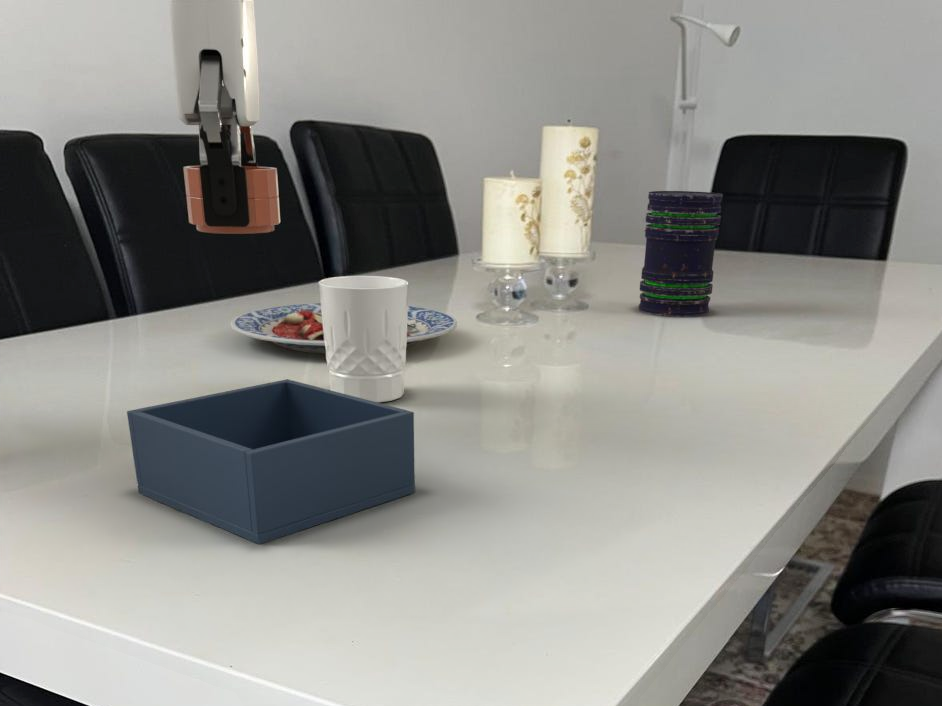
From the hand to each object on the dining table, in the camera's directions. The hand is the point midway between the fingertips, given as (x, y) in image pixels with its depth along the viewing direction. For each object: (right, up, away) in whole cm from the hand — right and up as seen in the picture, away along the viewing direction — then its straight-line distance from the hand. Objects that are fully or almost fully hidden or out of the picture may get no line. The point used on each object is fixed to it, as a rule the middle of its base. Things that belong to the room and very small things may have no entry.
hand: (234, 219), depth 77 cm
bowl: (0, -1, 0) cm, 1 cm away
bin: (+5, -23, -9) cm, 25 cm away
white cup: (+9, -10, +16) cm, 20 cm away
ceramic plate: (+3, +2, +38) cm, 39 cm away
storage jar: (+46, +13, +61) cm, 78 cm away
